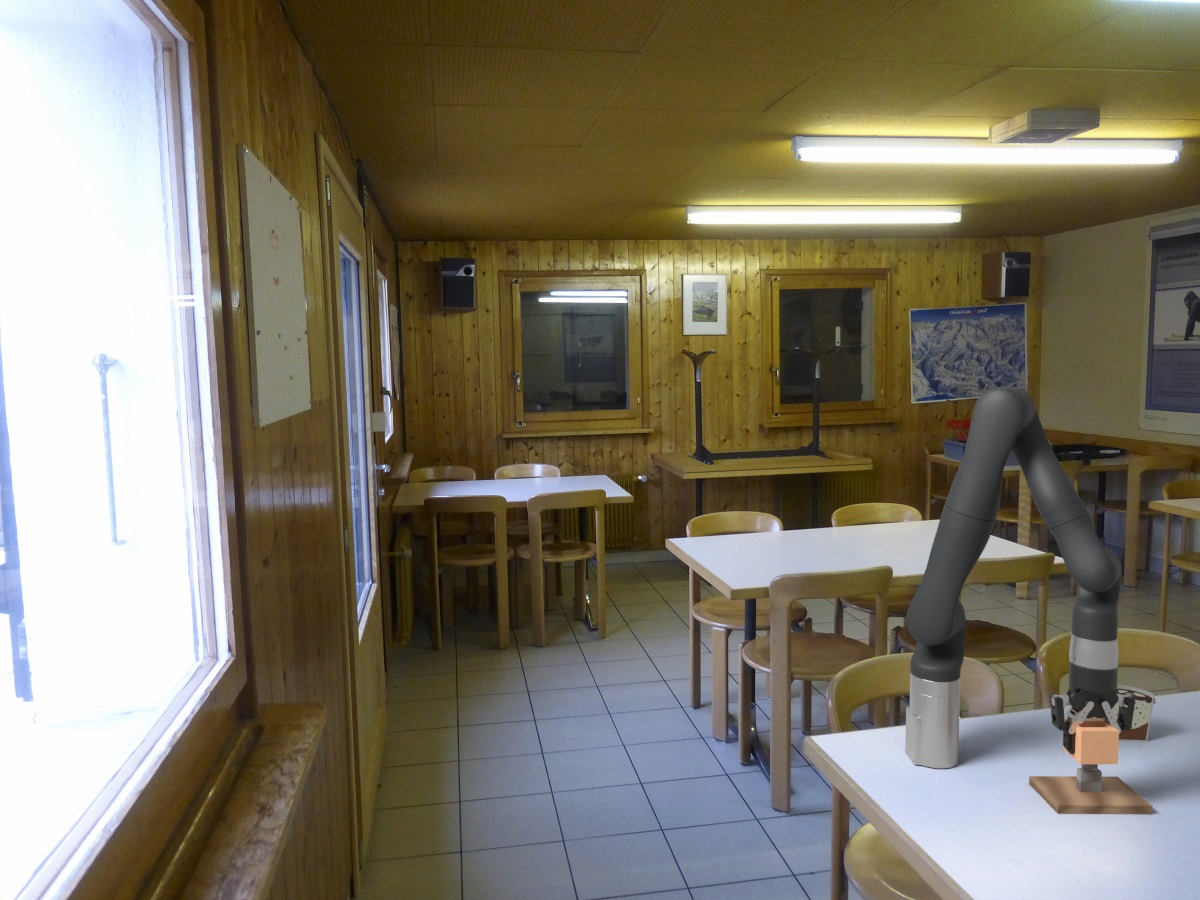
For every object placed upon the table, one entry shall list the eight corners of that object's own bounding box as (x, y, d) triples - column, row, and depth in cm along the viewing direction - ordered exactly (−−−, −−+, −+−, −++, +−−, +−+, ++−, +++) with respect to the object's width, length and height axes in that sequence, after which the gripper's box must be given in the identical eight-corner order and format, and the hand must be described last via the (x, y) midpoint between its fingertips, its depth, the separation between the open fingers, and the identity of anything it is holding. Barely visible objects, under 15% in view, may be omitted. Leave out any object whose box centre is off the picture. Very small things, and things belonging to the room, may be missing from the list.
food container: (1139, 729, 186) (1141, 684, 185) (1154, 741, 180) (1156, 694, 179) (1078, 728, 187) (1080, 682, 186) (1091, 740, 181) (1093, 693, 180)
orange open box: (1080, 764, 153) (1081, 731, 152) (1063, 749, 159) (1064, 717, 158) (1117, 764, 153) (1119, 731, 152) (1099, 749, 159) (1100, 717, 158)
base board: (1057, 813, 151) (1059, 777, 151) (1029, 784, 162) (1030, 750, 162) (1152, 814, 151) (1153, 777, 150) (1116, 784, 162) (1118, 750, 161)
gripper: (1062, 667, 151) (1059, 761, 152) (1147, 667, 150) (1143, 761, 152) (1042, 654, 158) (1039, 743, 160) (1123, 653, 158) (1119, 743, 159)
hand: (1090, 751), depth 156 cm, fingers closed on orange open box, 6 cm apart
